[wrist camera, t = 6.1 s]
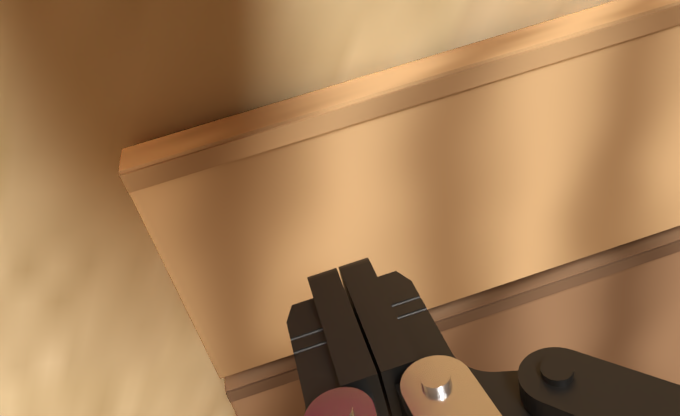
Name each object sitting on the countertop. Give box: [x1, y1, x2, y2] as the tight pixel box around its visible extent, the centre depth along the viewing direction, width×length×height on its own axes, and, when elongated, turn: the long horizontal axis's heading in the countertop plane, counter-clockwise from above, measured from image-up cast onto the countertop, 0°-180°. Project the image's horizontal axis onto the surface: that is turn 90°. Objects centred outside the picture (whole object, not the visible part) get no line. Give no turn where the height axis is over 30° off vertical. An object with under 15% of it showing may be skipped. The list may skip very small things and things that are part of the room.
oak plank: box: [118, 0, 680, 379], centre depth 21 cm, size 20×9×2 cm, turn 103°
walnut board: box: [224, 226, 680, 416], centre depth 26 cm, size 20×9×2 cm, turn 103°
